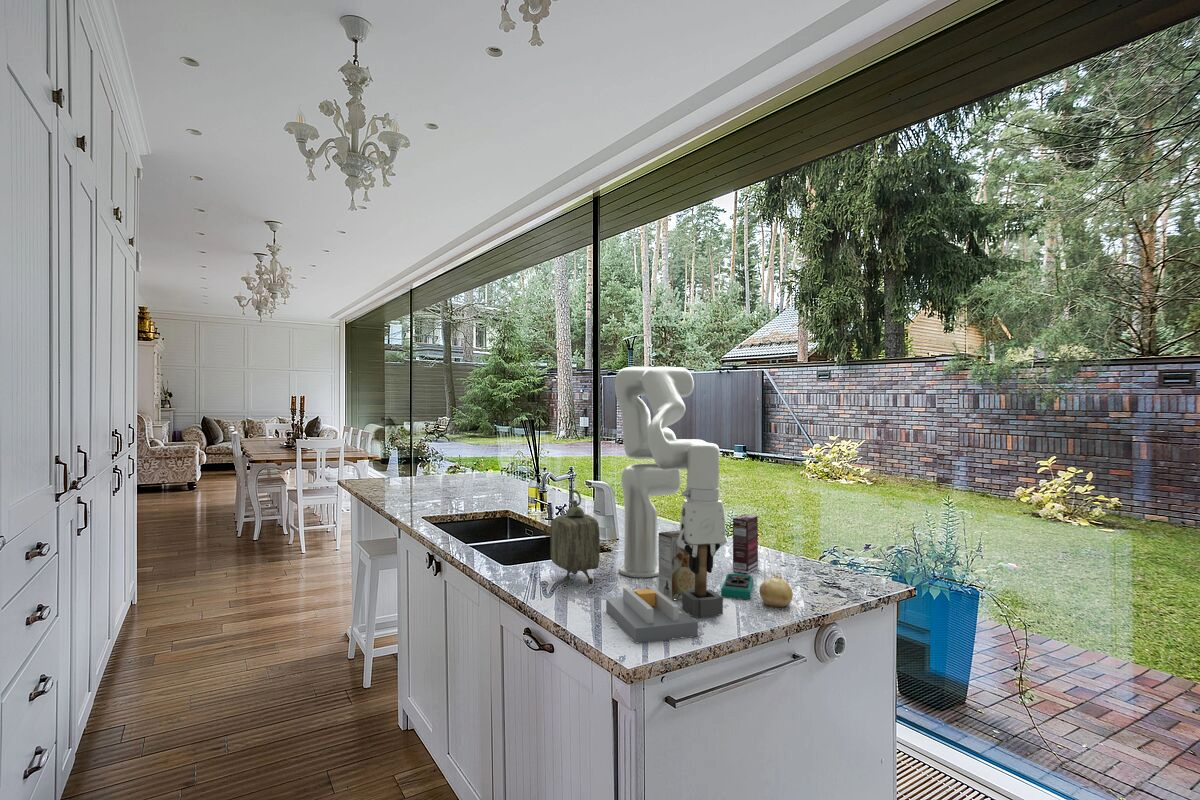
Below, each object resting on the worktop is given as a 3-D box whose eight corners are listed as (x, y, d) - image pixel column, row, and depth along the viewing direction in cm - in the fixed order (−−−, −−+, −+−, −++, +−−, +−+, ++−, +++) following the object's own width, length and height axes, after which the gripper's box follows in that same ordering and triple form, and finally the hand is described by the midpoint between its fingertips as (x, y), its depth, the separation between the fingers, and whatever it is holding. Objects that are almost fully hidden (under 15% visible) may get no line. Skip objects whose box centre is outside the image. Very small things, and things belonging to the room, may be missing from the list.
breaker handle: (634, 603, 142) (634, 590, 142) (650, 602, 143) (650, 589, 143) (638, 607, 139) (638, 594, 139) (655, 606, 140) (655, 592, 140)
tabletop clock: (599, 585, 167) (600, 493, 167) (568, 589, 163) (569, 494, 163) (577, 572, 180) (578, 486, 180) (548, 575, 176) (549, 488, 176)
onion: (799, 608, 149) (799, 578, 149) (770, 611, 147) (770, 581, 147) (780, 598, 157) (780, 570, 157) (753, 600, 155) (753, 572, 155)
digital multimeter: (753, 585, 170) (753, 574, 170) (750, 601, 155) (750, 589, 155) (726, 582, 172) (726, 572, 172) (720, 598, 158) (720, 587, 158)
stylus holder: (680, 607, 149) (680, 591, 149) (709, 605, 151) (709, 588, 151) (694, 618, 141) (694, 600, 141) (724, 615, 144) (724, 598, 144)
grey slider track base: (606, 611, 145) (606, 586, 146) (661, 606, 150) (661, 581, 150) (635, 643, 126) (635, 613, 126) (697, 636, 130) (697, 607, 130)
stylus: (692, 593, 148) (693, 535, 148) (703, 592, 149) (704, 534, 149) (697, 597, 145) (698, 537, 145) (708, 596, 146) (709, 537, 146)
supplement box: (743, 565, 188) (743, 513, 188) (758, 568, 185) (758, 515, 186) (731, 571, 181) (732, 517, 181) (747, 574, 178) (747, 519, 179)
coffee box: (686, 589, 164) (687, 528, 164) (701, 596, 158) (701, 533, 158) (657, 594, 159) (658, 532, 159) (671, 601, 154) (672, 536, 154)
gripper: (677, 498, 141) (676, 579, 141) (741, 496, 145) (739, 574, 146) (664, 493, 148) (663, 569, 148) (725, 491, 153) (723, 565, 153)
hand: (700, 571), depth 147 cm, fingers closed on stylus, 2 cm apart
